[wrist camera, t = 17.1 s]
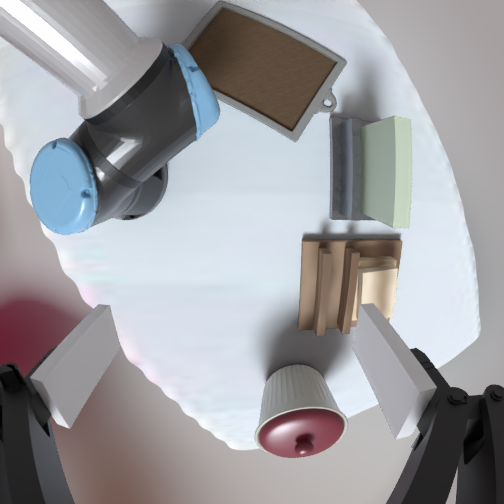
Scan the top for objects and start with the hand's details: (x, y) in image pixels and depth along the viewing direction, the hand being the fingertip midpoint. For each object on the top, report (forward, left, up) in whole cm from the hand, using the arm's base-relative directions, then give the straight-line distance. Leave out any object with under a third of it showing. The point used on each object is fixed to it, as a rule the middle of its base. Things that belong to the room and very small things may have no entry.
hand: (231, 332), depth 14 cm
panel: (+11, +18, -35) cm, 41 cm away
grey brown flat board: (-13, +24, -38) cm, 46 cm away
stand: (+11, +18, -37) cm, 42 cm away
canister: (+30, -26, -37) cm, 54 cm away
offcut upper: (+27, +2, -33) cm, 42 cm away
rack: (+24, 0, -37) cm, 44 cm away
